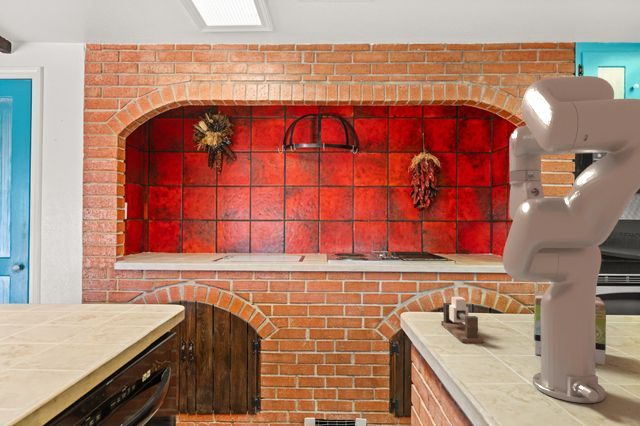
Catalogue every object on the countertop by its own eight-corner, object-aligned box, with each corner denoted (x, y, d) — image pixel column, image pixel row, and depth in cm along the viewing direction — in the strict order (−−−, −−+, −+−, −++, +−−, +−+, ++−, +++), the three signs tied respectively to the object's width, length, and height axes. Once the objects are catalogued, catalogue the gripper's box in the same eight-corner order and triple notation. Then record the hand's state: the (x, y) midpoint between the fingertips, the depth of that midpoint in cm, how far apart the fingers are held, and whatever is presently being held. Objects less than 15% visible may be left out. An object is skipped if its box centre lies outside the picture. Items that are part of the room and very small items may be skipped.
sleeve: (468, 322, 119) (468, 299, 119) (453, 322, 119) (453, 299, 119) (463, 318, 123) (463, 296, 123) (449, 318, 123) (449, 296, 123)
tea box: (534, 355, 101) (534, 297, 101) (533, 344, 109) (533, 290, 109) (606, 366, 94) (606, 303, 94) (600, 352, 102) (599, 295, 102)
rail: (483, 342, 111) (483, 316, 111) (462, 342, 111) (462, 316, 111) (459, 324, 129) (459, 301, 129) (441, 324, 129) (441, 302, 129)
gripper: (556, 175, 99) (556, 249, 99) (524, 180, 114) (524, 244, 114) (526, 175, 99) (526, 249, 99) (498, 180, 114) (498, 244, 114)
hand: (525, 246), depth 106 cm, fingers closed
